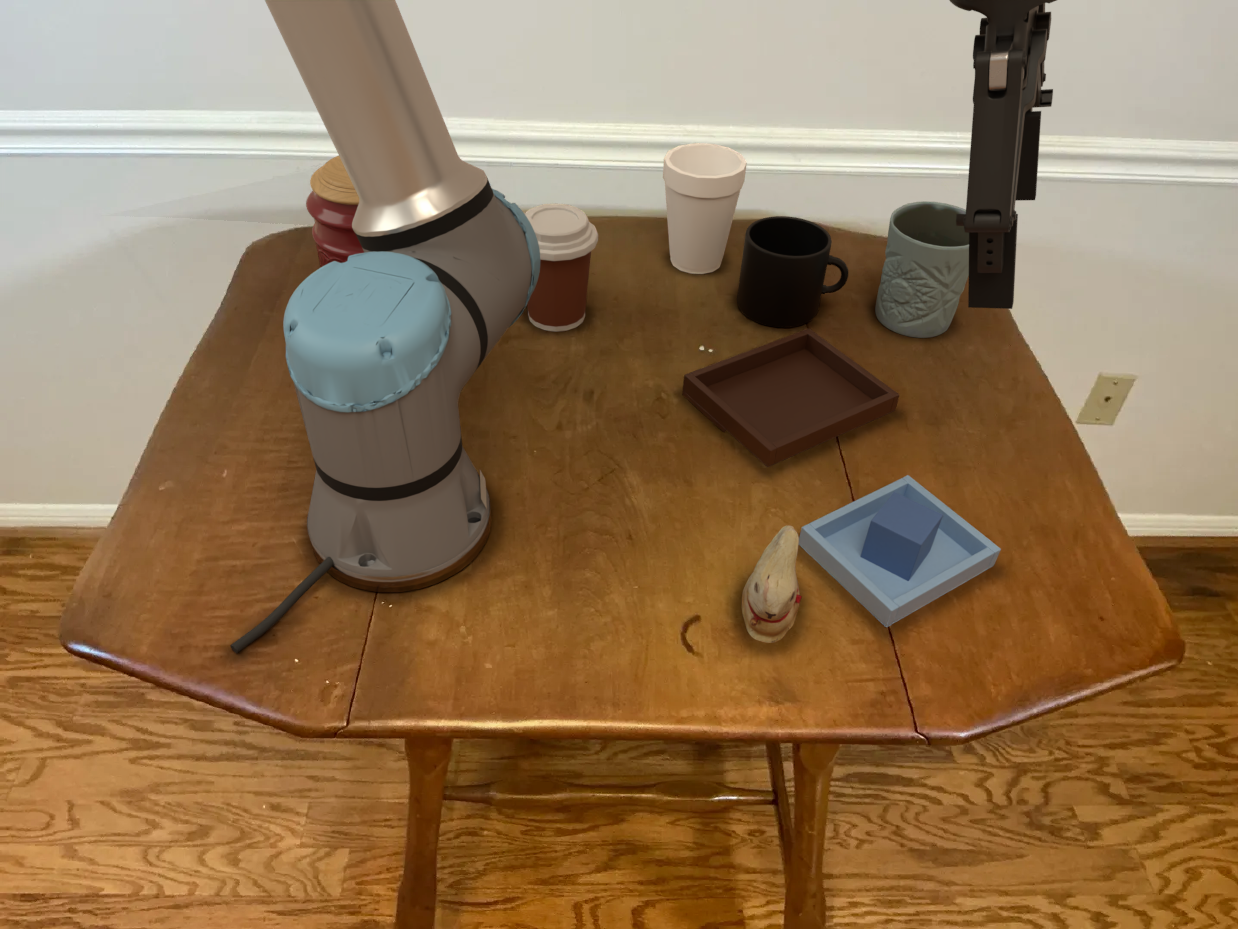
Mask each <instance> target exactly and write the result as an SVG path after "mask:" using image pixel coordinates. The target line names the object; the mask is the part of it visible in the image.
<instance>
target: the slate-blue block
mask: <svg viewBox="0 0 1238 929" xmlns="http://www.w3.org/2000/svg"><path fill="white" fill-rule="evenodd" d="M942 517H943V514H940V513H938V512H936V511H934V510H932V509H930V508H928V507H926V506H923V505H921V504H919V503H917V502H915V501H913V500H911V499H909V498H906V497H904V496H902V495H900V494H898V493H896V492H893V494H892V495H891V496H890V497H889V499H888V500H887V501H886V502H885V504H884V505H883V506H882V507H881V509H880V510H879V511H878V512H877V514H876V515H875V516H874V517H873V519H872V520H871V522H870V526H869V529H868V532H867V536H866V539H865V543H864V546H863V549H862V553H861V556H860V557H862V558H864V559H866V560H868V561H869V562H871V563H873V564H875V565H877V566H879V567H881V568H883V569H885V570H887V571H889V572H891V573H893V574H895V575H897V576H899V577H901V578H903V579H905V580H907V581H909V580H910V579H911V577H912V576H913V574H914V573H915V572H916V570H917V569H918V567H919V566H920V565H921V563H922V562H923V560H924V559H925V558H926V556H927V555H928V553H929V552H930V550H931V547H932V544H933V542H934V539H935V536H936V533H937V531H938V528H939V525H940V522H941V520H942Z"/></svg>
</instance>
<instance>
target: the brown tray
mask: <svg viewBox="0 0 1238 929" xmlns="http://www.w3.org/2000/svg"><path fill="white" fill-rule="evenodd" d="M681 395H682V396H683V397H684V398H685V399H686V400H687V401H688V402H690V404H691V405H693V406H694V407H695V408H696V409H697V410H698V411H699V412H701V414H703V415H704V417H706V418H707V419H708V420H709V421H710V422H711V423H713V425H715V426H716V427H717V428H718V429H719V430H721V432H723V433H726V432H728V433H729V435H730V436H732V437H733V438H734V439H735V440H736V441H738V443H739V444H741V445H742V446H743V447H744V448H745V449H746V450H747V451H748V452H750V453H751V454H752V455H753V456H754V457H755V458H756V459H757V460H758V461H760V462H761V463H762V464H763V465H764V466H765V467H766V468H770V467H772V466H774V465H776V464H779V463H780V462H782V461H786V460H787V459H789V458H792V457H794V456H797V455H799V454H801V453H803V452H805V451H808V450H810V449H812V448H814V447H818V445H821V444H823V443H826V442H828V441H830V440H832V439H835V438H837V437H840V436H841V435H844V434H846V433H848V432H851V431H853V430H855V429H858V428H860V427H863V426H864V425H866V424H868V423H870V422H873V421H875V420H878V419H880V418H883V417H884V416H886V415H889V414H891V413H893V412H895V411H896V408H897V405H898V402H899V399H900V393H899V392H898V391H896V390H894V389H893V388H892V387H891V386H889V385H888V384H886V383H885V382H884V381H882V380H880V379H879V378H878V377H877V376H875V375H874V374H872V373H871V372H869V371H868V370H867V369H865V368H864V367H863V366H862V365H861V364H859V363H857V362H856V361H854V360H853V359H852V358H850V356H848V355H846V354H845V353H844V352H842V351H840V349H838V348H837V347H835V346H834V345H833V344H831V343H830V342H829V341H827V340H825V339H824V338H823V337H822V336H820V335H819V334H818V333H816V332H815V331H814V330H812V329H811V328H809V327H808V328H806V329H803V330H800V331H798V332H795V333H792V334H789V335H787V336H784V337H782V338H779V339H776V340H773V341H771V342H769V343H768V342H767V343H766V344H763V345H760V346H758V347H755V348H752V349H749V350H746V351H744V352H741V353H739V354H735V355H733V356H730V357H728V358H725V359H722V360H720V361H717V362H714V363H712V364H709V365H706V366H704V367H701V368H698V369H696V370H693V371H691V372H688V373H684V374H683V383H682V394H681Z"/></svg>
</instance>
